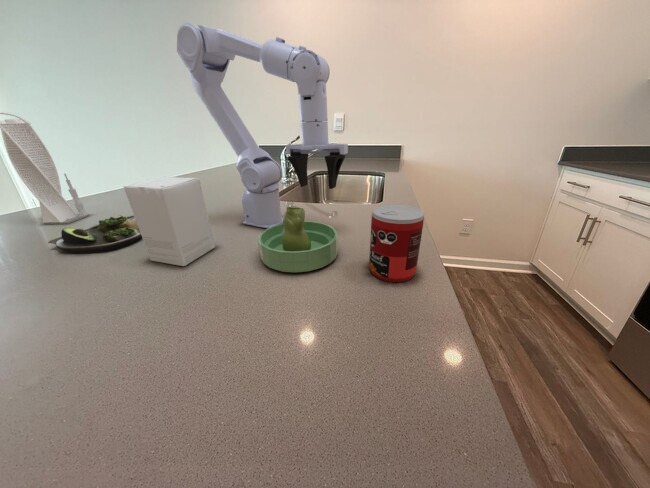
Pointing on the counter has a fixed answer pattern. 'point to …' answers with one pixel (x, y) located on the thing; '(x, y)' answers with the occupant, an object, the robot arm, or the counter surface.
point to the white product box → (171, 218)
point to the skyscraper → (39, 171)
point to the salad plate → (99, 236)
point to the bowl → (299, 261)
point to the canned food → (395, 242)
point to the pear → (294, 230)
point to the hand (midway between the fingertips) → (317, 186)
